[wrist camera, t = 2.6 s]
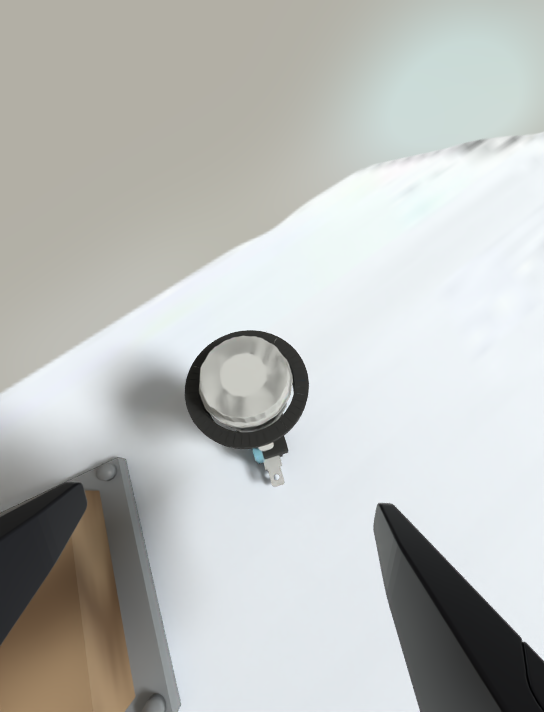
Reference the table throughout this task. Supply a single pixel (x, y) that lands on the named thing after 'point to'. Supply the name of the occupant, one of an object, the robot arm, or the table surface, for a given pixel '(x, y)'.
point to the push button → (248, 394)
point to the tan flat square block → (71, 633)
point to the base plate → (133, 589)
